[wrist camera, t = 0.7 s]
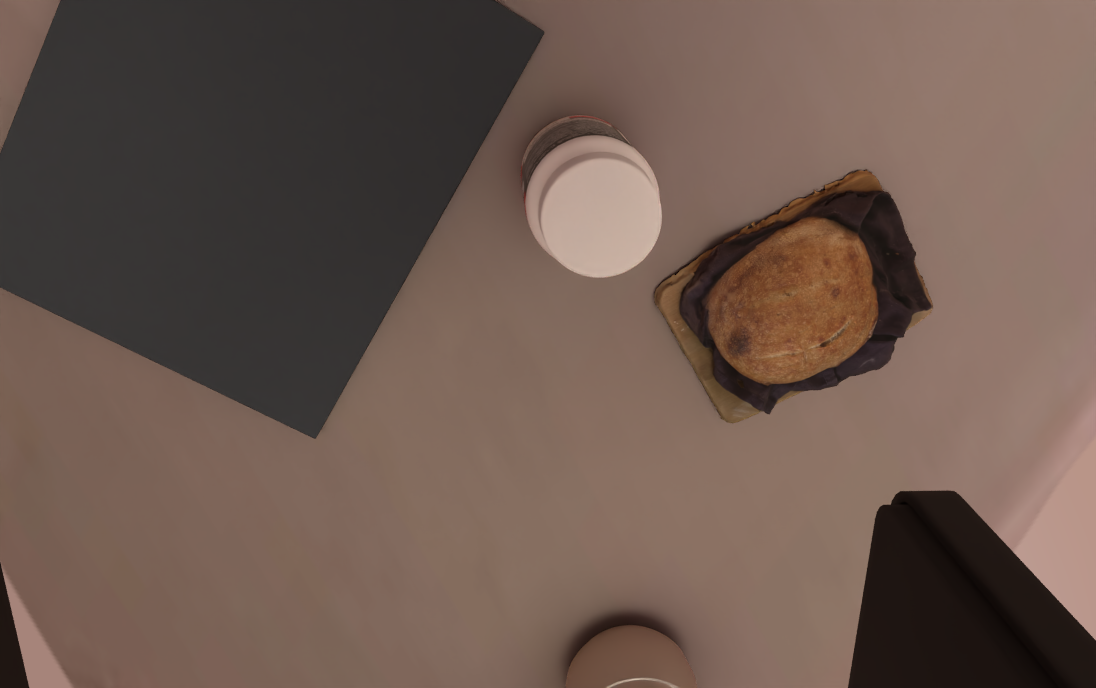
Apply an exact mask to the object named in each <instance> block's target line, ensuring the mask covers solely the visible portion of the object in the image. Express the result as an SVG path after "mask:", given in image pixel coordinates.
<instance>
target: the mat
mask: <svg viewBox="0 0 1096 688" xmlns="http://www.w3.org/2000/svg"><path fill="white" fill-rule="evenodd" d="M543 35H544V31H542V30H541V29H539V28H538V27H536V26H534V25H533V24H531V23H530V22H528V21H526V20H525V19H523V18H522V17H520V16H518V15H517V14H515V13H514V12H512V11H511V10H509V9H507V8H506V7H504V6H503V5H501V4H499V3H498V2H496V1H495V0H61V1H60V3H59V6H58V8H57V11H56V13H55V16H54V19H53V21H52V24H51V26H50V29H49V31H48V34H47V36H46V39H45V41H44V44H43V46H42V49H41V51H40V54H39V57H38V59H37V62H36V64H35V67H34V69H33V72H32V74H31V77H30V79H29V82H28V84H27V87H26V89H25V92H24V95H23V97H22V100H21V102H20V105H19V107H18V110H17V112H16V115H15V117H14V120H13V122H12V125H11V127H10V130H9V133H8V135H7V138H6V140H5V143H4V145H3V148H2V150H1V153H0V288H3V289H5V290H7V291H9V292H11V293H13V294H15V295H17V296H19V297H21V298H23V299H25V300H28V301H30V302H32V303H34V304H36V305H38V306H40V307H42V308H44V309H46V310H48V311H50V312H52V313H55V314H57V315H59V316H61V317H63V318H65V319H67V320H69V321H71V322H73V323H75V324H77V325H79V326H82V327H84V328H86V329H88V330H90V331H92V332H94V333H96V334H98V335H100V336H102V337H104V338H106V339H109V340H111V341H113V342H115V343H117V344H119V345H121V346H123V347H125V348H127V349H129V350H131V351H133V352H136V353H138V354H140V355H142V356H144V357H146V358H148V359H150V360H152V361H154V362H156V363H158V364H160V365H163V366H165V367H167V368H169V369H171V370H173V371H175V372H177V373H179V374H181V375H183V376H185V377H188V378H190V379H192V380H194V381H196V382H198V383H200V384H202V385H204V386H206V387H208V388H210V389H212V390H215V391H217V392H219V393H221V394H223V395H225V396H227V397H229V398H231V399H233V400H235V401H237V402H239V403H242V404H244V405H246V406H248V407H250V408H252V409H254V410H256V411H258V412H260V413H262V414H264V415H266V416H269V417H271V418H273V419H275V420H277V421H279V422H281V423H283V424H285V425H287V426H289V427H291V428H293V429H296V430H298V431H300V432H302V433H304V434H306V435H308V436H310V437H312V438H314V439H315V438H316V437H317V435H318V434H319V432H320V430H321V428H322V427H323V425H324V423H325V421H326V419H327V418H328V416H329V414H330V412H331V411H332V409H333V407H334V405H335V404H336V402H337V400H338V398H339V396H340V395H341V393H342V391H343V389H344V388H345V386H346V384H347V382H348V380H349V379H350V377H351V375H352V373H353V372H354V370H355V368H356V366H357V364H358V363H359V361H360V359H361V357H362V356H363V354H364V352H365V350H366V349H367V347H368V345H369V343H370V341H371V340H372V338H373V336H374V334H375V333H376V331H377V329H378V327H379V325H380V324H381V322H382V320H383V318H384V317H385V315H386V313H387V311H388V310H389V308H390V306H391V304H392V302H393V301H394V299H395V297H396V295H397V294H398V292H399V290H400V288H401V286H402V285H403V283H404V281H405V279H406V278H407V276H408V274H409V272H410V270H411V269H412V267H413V265H414V263H415V262H416V260H417V258H418V256H419V255H420V253H421V251H422V249H423V247H424V246H425V244H426V242H427V240H428V239H429V237H430V235H431V233H432V231H433V230H434V228H435V226H436V224H437V223H438V221H439V219H440V217H441V215H442V214H443V212H444V210H445V208H446V207H447V205H448V203H449V201H450V200H451V198H452V196H453V194H454V192H455V191H456V189H457V187H458V185H459V184H460V182H461V180H462V178H463V176H464V175H465V173H466V171H467V169H468V168H469V166H470V164H471V162H472V160H473V159H474V157H475V155H476V153H477V152H478V150H479V148H480V146H481V145H482V143H483V141H484V139H485V137H486V136H487V134H488V132H489V130H490V129H491V127H492V125H493V123H494V121H495V120H496V118H497V116H498V114H499V113H500V111H501V109H502V107H503V105H504V104H505V102H506V100H507V98H508V97H509V95H510V93H511V91H512V90H513V88H514V86H515V84H516V82H517V81H518V79H519V77H520V75H521V74H522V72H523V70H524V68H525V66H526V65H527V63H528V61H529V59H530V58H531V56H532V54H533V52H534V50H535V49H536V47H537V45H538V43H539V42H540V40H541V38H542V36H543Z"/></svg>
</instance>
